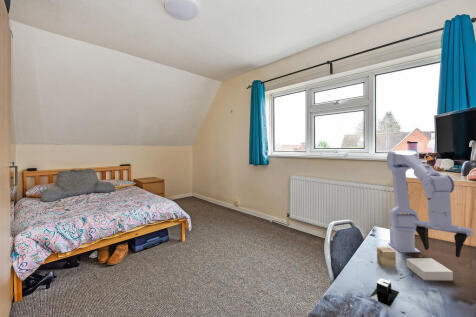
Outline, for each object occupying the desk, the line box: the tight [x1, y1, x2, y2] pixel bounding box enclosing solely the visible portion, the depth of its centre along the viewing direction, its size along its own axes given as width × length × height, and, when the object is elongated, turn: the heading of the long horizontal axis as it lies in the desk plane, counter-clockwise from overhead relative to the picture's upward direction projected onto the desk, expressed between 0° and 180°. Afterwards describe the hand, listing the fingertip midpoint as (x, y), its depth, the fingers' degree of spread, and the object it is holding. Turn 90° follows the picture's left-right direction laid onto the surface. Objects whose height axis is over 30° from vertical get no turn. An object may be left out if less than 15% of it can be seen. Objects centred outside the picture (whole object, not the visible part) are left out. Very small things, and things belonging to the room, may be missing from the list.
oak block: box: [376, 246, 397, 268], centre depth 85 cm, size 4×4×6 cm
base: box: [405, 257, 454, 281], centre depth 78 cm, size 9×9×3 cm
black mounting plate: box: [369, 277, 400, 308], centre depth 68 cm, size 12×7×5 cm, turn 130°
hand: (441, 252), depth 71 cm, fingers open, 7 cm apart
